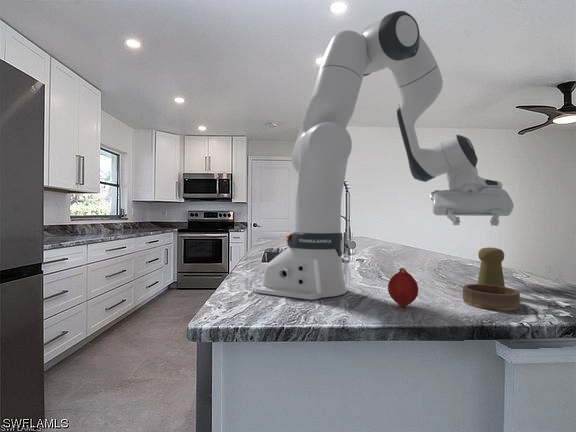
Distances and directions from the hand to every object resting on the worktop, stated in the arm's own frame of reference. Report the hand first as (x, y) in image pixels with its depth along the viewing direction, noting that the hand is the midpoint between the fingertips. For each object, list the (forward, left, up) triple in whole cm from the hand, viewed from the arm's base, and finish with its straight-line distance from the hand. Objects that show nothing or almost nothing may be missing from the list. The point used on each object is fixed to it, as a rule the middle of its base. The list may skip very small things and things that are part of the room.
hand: (475, 223), depth 88 cm
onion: (-21, -29, -17) cm, 39 cm away
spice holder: (-3, -22, -16) cm, 27 cm away
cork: (0, -12, -17) cm, 20 cm away
